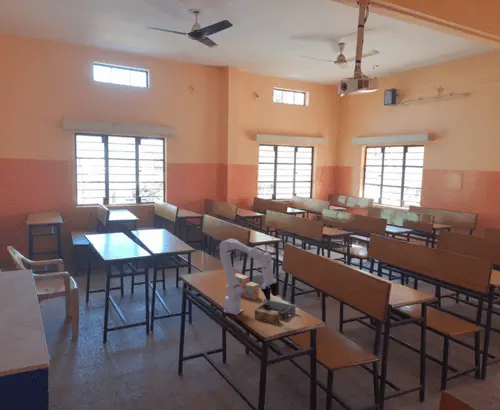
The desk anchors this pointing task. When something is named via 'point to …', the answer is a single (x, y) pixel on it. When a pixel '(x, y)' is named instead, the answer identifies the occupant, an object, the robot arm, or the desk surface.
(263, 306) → the cup bracket left
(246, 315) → the desk surface
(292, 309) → the backboard
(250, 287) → the stack of blocks
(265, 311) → the rail
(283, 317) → the cup bracket right
